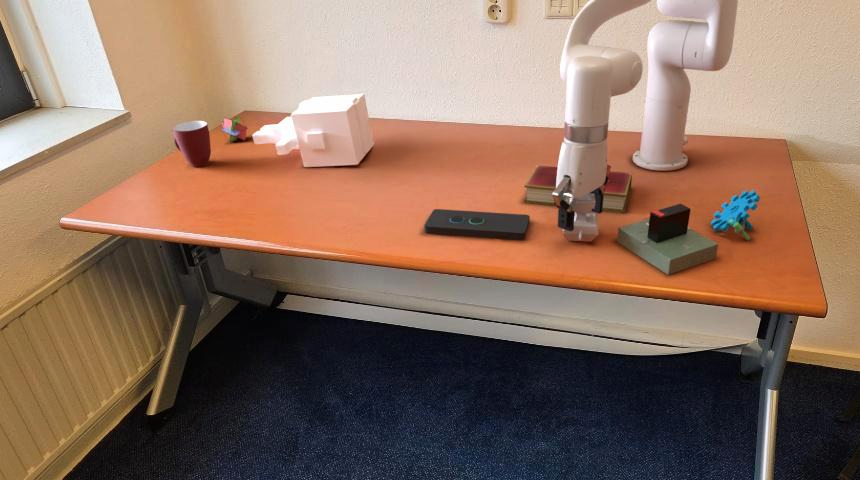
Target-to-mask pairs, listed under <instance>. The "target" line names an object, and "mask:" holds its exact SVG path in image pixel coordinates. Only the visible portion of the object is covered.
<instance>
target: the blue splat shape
mask: <svg viewBox="0 0 860 480" xmlns="http://www.w3.org/2000/svg"><path fill="white" fill-rule="evenodd" d="M730 200H731V201H730V203H728V202H727V201H725V202H724V203H722V204H721V205H720V207H721V208H722V209H723V211H722V212H720V210H717V211H715V213H714V214H713V217H714V219H712V220H711V223H710V225H711V226H712V227H713V229H714V230H715V231H716V232H719V231H722V232H727V231H728V230H729V228H730V227H732V228H734V233H736V234H737V235H741V236H742V237H743V238H744V239H745V240H746V241H750V239H751V237H750V236H749V234H748V233H747V232H745V227H746V229H747V230H748V231H751V230H752V229H754V225H753V224H752V223H751V222H750V221H749V220H748V219H749V218H750V217H751V215H750V214H749V212H748V211H749V210H751V211H752V212H754V211H755V210H756V209H757V208H758V207H759V205H758V204H757V203H758V202H759V201H760V200H761V196H760V195H759V194H758V193H757V192H756V191H755V189H752V190H750V191H748V190H743V191H742V192H741V193H740V195H738V194H735V195H732V196H731V197H730Z"/></svg>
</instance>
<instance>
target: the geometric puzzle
mask: <svg viewBox="0 0 860 480" xmlns="http://www.w3.org/2000/svg"><path fill="white" fill-rule="evenodd" d="M233 117H235V118H234V119H230V118H228V117H227V116H226V117H223V119H222V121H221V129H220V131H221V132H222V133H223V135H224V136H226V135H225V134H228V135H229V139H228V138H227V137H225V138H226V140H227V141H228V143H229V144H231V143H232V142H234V140H236V139H238V140H240V141H244V142H246V138H247V131H248V130H249V128H248V126H247V125H246V124H245V122H244V120H243V119H242V117H241V115H238V116H233ZM240 119H241V120H242V121H243V124H244V125H243V124H241V123H240ZM240 141H237V142H240Z"/></svg>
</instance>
